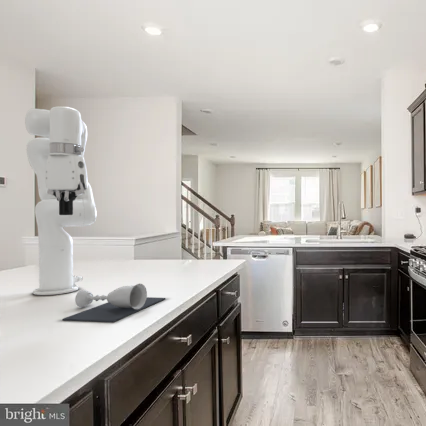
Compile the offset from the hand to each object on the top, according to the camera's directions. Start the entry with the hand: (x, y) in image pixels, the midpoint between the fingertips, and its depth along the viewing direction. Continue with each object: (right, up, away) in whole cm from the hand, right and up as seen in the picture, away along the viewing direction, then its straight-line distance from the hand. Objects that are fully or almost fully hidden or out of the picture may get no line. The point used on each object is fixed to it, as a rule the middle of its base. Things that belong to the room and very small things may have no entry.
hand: (66, 214), depth 107 cm
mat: (+17, -26, -3) cm, 32 cm away
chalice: (+5, -24, -1) cm, 25 cm away
